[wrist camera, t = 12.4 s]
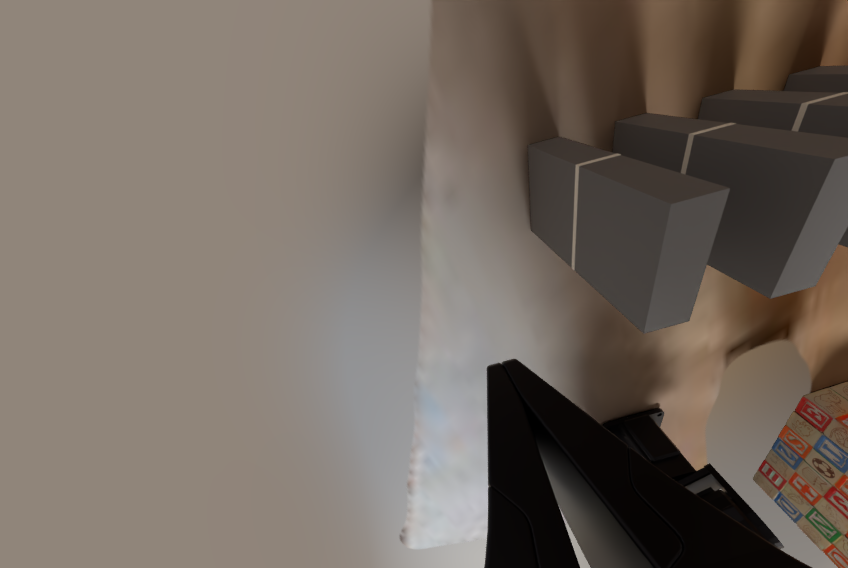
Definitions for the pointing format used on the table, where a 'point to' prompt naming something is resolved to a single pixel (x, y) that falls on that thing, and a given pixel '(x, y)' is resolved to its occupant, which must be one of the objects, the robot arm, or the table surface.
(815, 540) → the stack of blocks
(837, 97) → the domino
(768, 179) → the domino
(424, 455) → the table surface
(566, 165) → the domino
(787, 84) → the domino
